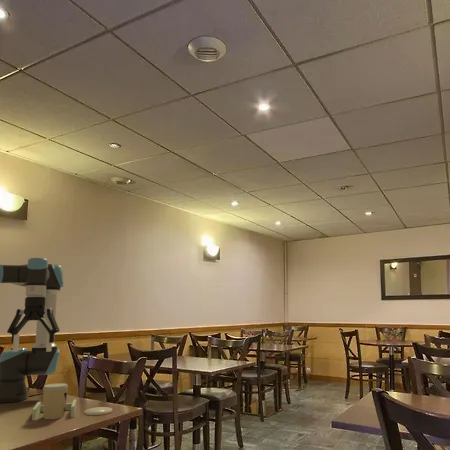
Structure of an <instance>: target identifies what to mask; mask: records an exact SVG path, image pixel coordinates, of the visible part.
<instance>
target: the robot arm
mask: <svg viewBox="0 0 450 450" xmlns="http://www.w3.org/2000/svg"><path fill="white" fill-rule="evenodd" d="M48 261H49V260H48V259H47V258H46V257H45V258H44V257H30V258H29V259H28V260H27V263H26V264H20V265H19V264H18V265H17V264H15V265H14V264H0V284H12V285H14V286H19V287H25V296H26V297H25V298H24V309H22V308H18V309H16V312H15V315H14V318H13V319H12V321H11V324H9V327H8V329H7V331H6V332H7V333H8V334H11V344H13V345H12V349H8V350H5V351H2V352H1V354H0V404H2V403H4V404H5V403H16V402H20V401H26V400H27V399H28V398H29V392H28V388H27V383H26V377H27V376H42V375H44V376H46V375H53V374H55V373H57V372H56V371H57V370H58V364H59V360H60V359H59V358H60V353H61V350H60V349H59V348H58V344H56V343H55V334H56V333H59V332H60V328H59V325H58V323H57V320H56V318H57V316H56V315H57V299H58V297H57V296H58V293H59V292H61V288H64V275H63V274H64V273H63V268H62V265H60V264H53V263H50V264H49V263H48ZM23 315H24V316H23ZM22 316H23V317H22ZM21 318H22V320H21ZM20 320H21V321H20ZM30 321H36V331H35V343H34V344H33V345H32V346H31V350H28V348H27V347H20V334H19V332H20V331H21V330H22V329H23V328H24V327H25V325H26V324H27V323H28V322H30Z"/></svg>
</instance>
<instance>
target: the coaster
mask: <svg viewBox="0 0 450 450" xmlns="http://www.w3.org/2000/svg"><path fill="white" fill-rule="evenodd" d="M111 413H113V408H112V407H107V406H98V407H91V408H88V409H85V410H84V415H87V416H105V415H108V414H111Z"/></svg>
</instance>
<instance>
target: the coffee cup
mask: <svg viewBox="0 0 450 450" xmlns="http://www.w3.org/2000/svg"><path fill="white" fill-rule="evenodd" d="M68 388H69V386H68V383H64V382H63V383H62V382H59V383H58V382H57V383H49V384H48V383H47V384H45V385H44V386H43V387H42V389H43V390H42V391H43V393H42V394H43V395H42V396H43V397H42V398H43V399H42V400H43V401H42V403H43V404H42V405H43V409H44V412H43V419H44V420H54V419H55V420H56V419H60V418H64V417H65V413H66V410H65V406H66V403H67V398H68V397H67V396H68Z"/></svg>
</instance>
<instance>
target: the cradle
mask: <svg viewBox="0 0 450 450" xmlns="http://www.w3.org/2000/svg"><path fill="white" fill-rule="evenodd" d="M77 401H78V400H77V399H73V400H72V402H66V406H65V411H70V418H74V417H75V414H76V412H75V411H77ZM31 412H32V413H31V421H36V420H37V418H38V416H39V415H40V413H44V409H43V404H42V402H41V401H37V402H36V404H35V405H34V406H33V408H32V411H31Z"/></svg>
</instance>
